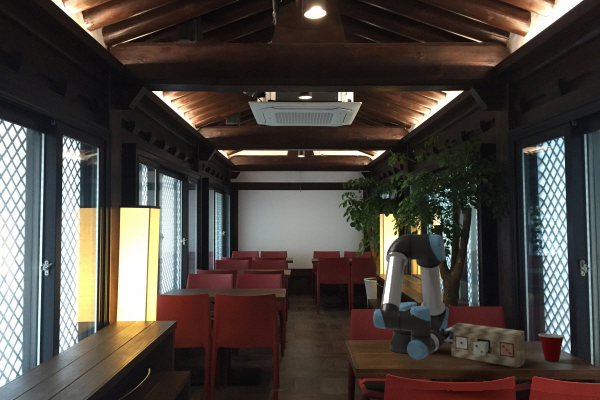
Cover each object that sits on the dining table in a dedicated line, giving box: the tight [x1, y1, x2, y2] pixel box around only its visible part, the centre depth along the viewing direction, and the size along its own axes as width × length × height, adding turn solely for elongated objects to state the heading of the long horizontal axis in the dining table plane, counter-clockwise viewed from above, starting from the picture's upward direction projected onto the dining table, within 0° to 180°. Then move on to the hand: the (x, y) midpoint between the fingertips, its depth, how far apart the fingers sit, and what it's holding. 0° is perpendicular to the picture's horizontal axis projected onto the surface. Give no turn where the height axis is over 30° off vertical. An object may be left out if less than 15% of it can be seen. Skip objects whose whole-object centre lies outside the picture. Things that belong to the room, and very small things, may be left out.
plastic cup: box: [537, 333, 565, 363], centre depth 215 cm, size 11×11×12 cm
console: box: [450, 322, 526, 368], centre depth 217 cm, size 30×10×14 cm, turn 52°
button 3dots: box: [501, 343, 514, 356], centre depth 210 cm, size 5×8×5 cm, turn 142°
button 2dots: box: [473, 340, 489, 356], centre depth 211 cm, size 5×8×5 cm, turn 142°
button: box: [456, 336, 468, 349], centre depth 222 cm, size 5×8×5 cm, turn 142°
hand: (451, 330), depth 209 cm, fingers closed
